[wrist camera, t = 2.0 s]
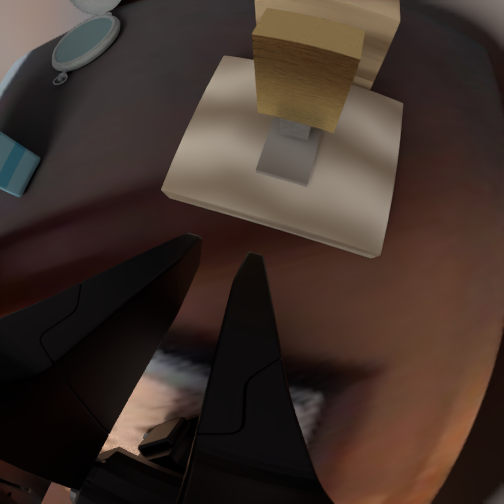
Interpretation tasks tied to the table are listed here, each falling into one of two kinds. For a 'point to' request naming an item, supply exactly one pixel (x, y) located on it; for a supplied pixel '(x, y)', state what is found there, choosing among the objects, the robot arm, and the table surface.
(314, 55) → the bolt
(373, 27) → the door and jamb
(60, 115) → the table surface
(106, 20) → the pocket watch
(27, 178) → the data package
